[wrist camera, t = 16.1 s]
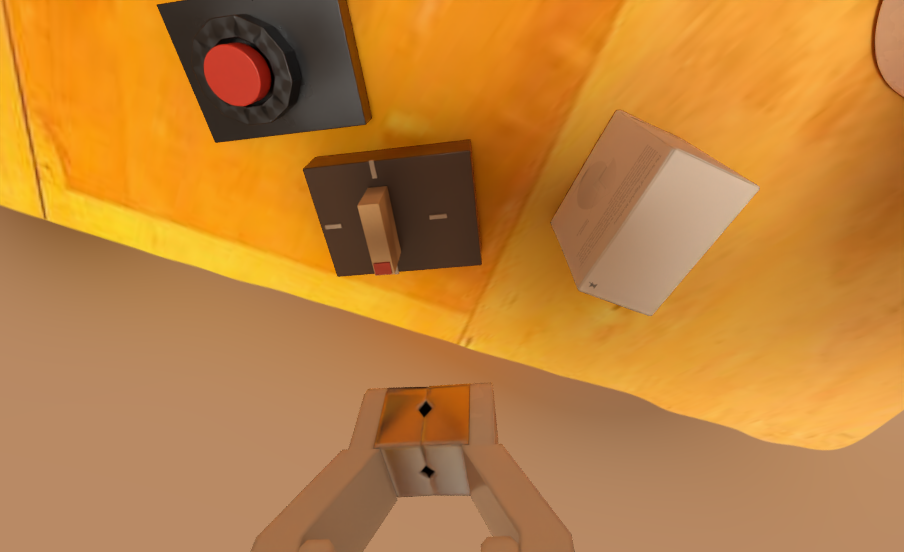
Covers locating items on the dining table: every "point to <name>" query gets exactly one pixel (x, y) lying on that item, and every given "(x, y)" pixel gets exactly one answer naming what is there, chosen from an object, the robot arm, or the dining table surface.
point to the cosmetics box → (644, 213)
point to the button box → (275, 63)
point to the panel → (400, 205)
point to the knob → (380, 230)
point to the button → (237, 73)
